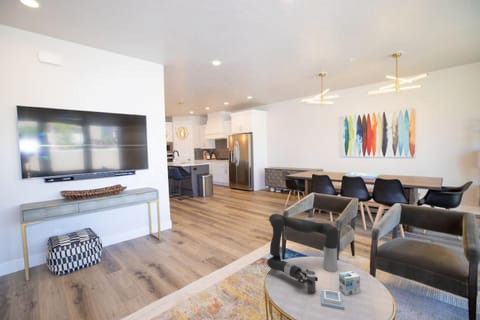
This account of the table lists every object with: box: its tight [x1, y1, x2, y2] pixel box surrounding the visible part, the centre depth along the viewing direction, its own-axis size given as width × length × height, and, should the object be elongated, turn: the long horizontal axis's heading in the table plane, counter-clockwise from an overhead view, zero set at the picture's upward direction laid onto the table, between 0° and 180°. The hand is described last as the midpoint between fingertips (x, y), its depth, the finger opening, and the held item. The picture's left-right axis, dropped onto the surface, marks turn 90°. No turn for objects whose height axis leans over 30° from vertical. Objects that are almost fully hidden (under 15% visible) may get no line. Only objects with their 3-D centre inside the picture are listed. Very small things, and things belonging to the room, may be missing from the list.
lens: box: [306, 270, 317, 293], centre depth 140 cm, size 5×5×11 cm
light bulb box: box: [338, 270, 361, 296], centre depth 140 cm, size 11×7×11 cm, turn 101°
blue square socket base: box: [320, 289, 345, 311], centre depth 132 cm, size 12×12×4 cm
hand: (314, 281), depth 138 cm, fingers closed on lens, 5 cm apart
